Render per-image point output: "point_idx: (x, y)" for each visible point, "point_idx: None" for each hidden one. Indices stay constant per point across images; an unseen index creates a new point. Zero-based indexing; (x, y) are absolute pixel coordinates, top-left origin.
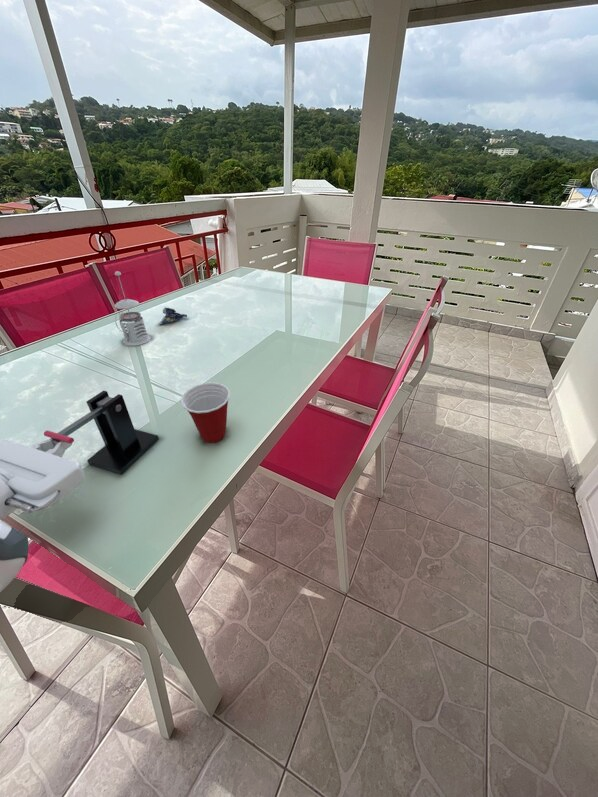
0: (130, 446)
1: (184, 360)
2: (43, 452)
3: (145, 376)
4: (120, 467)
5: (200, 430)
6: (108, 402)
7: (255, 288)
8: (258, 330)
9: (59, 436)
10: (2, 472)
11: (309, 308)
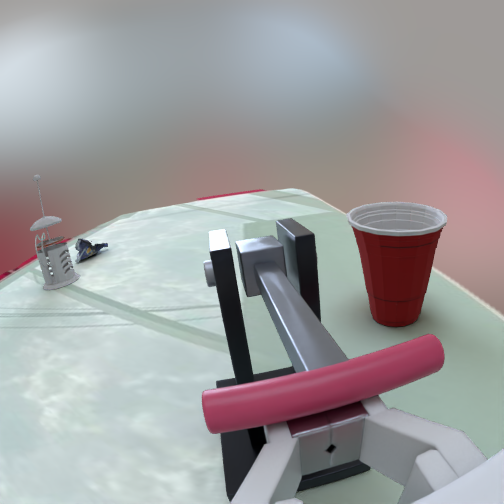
0: None
1: (163, 274)
2: (491, 469)
3: (122, 308)
4: None
5: (410, 294)
6: (295, 230)
7: (157, 216)
8: (220, 229)
9: (362, 368)
10: None
11: (247, 207)
